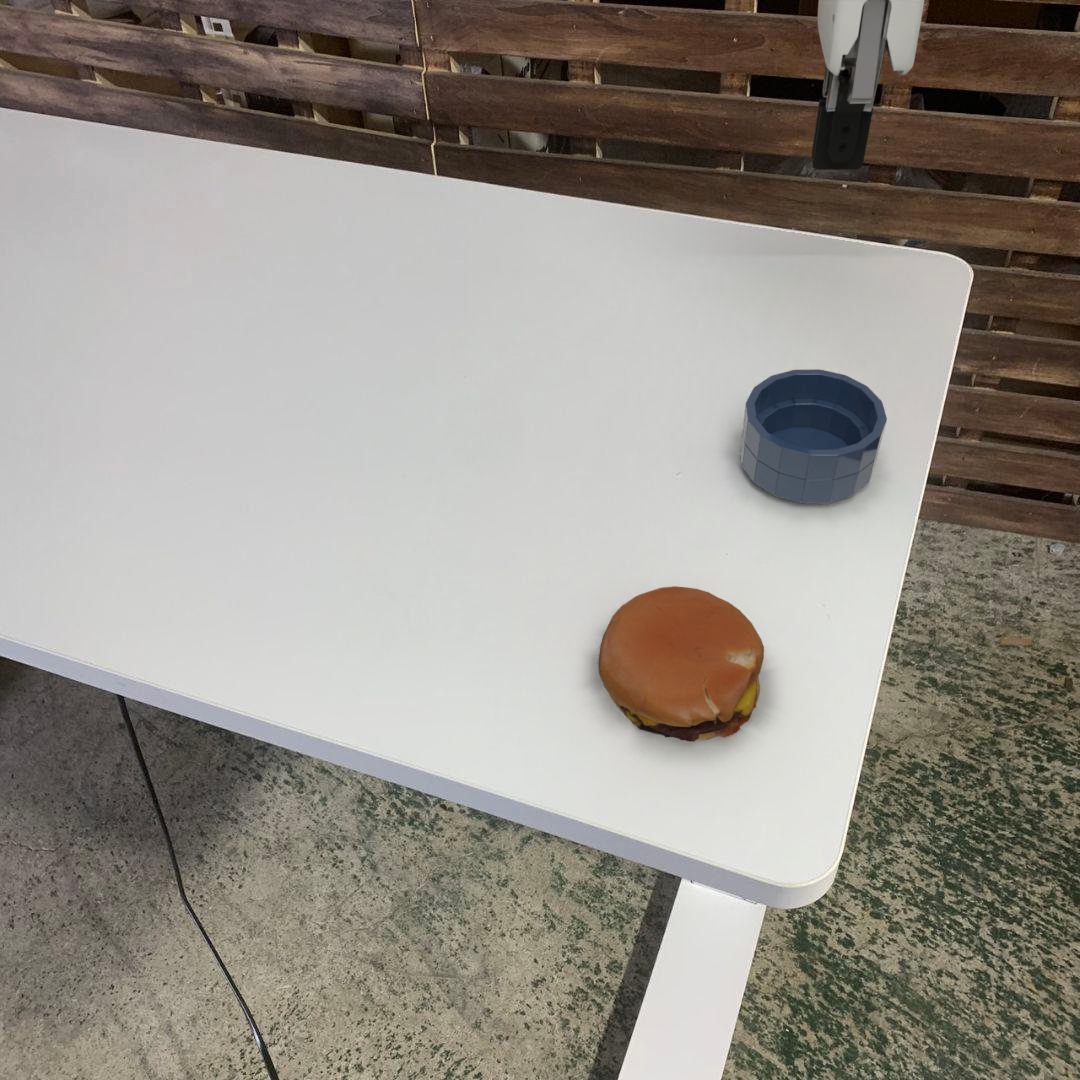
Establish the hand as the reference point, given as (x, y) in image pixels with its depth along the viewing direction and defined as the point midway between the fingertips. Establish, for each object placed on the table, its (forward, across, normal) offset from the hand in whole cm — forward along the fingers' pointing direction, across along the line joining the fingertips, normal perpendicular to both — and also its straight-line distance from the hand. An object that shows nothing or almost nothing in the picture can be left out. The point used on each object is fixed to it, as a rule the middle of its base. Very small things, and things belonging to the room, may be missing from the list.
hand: (836, 163), depth 65 cm
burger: (+17, -31, +9) cm, 36 cm away
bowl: (+17, -11, +1) cm, 20 cm away
